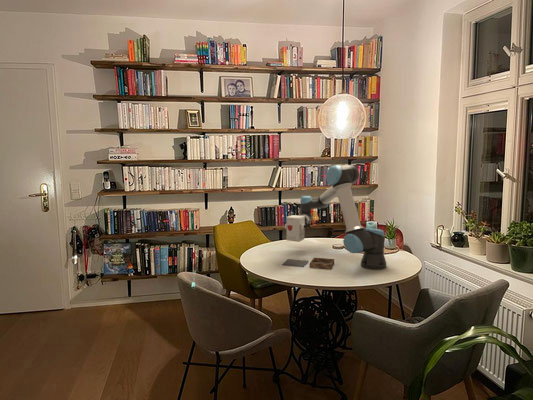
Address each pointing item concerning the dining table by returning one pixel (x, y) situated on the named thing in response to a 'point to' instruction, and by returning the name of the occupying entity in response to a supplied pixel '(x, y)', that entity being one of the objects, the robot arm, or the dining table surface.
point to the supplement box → (295, 228)
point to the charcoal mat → (295, 262)
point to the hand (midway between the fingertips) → (293, 227)
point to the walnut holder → (320, 261)
